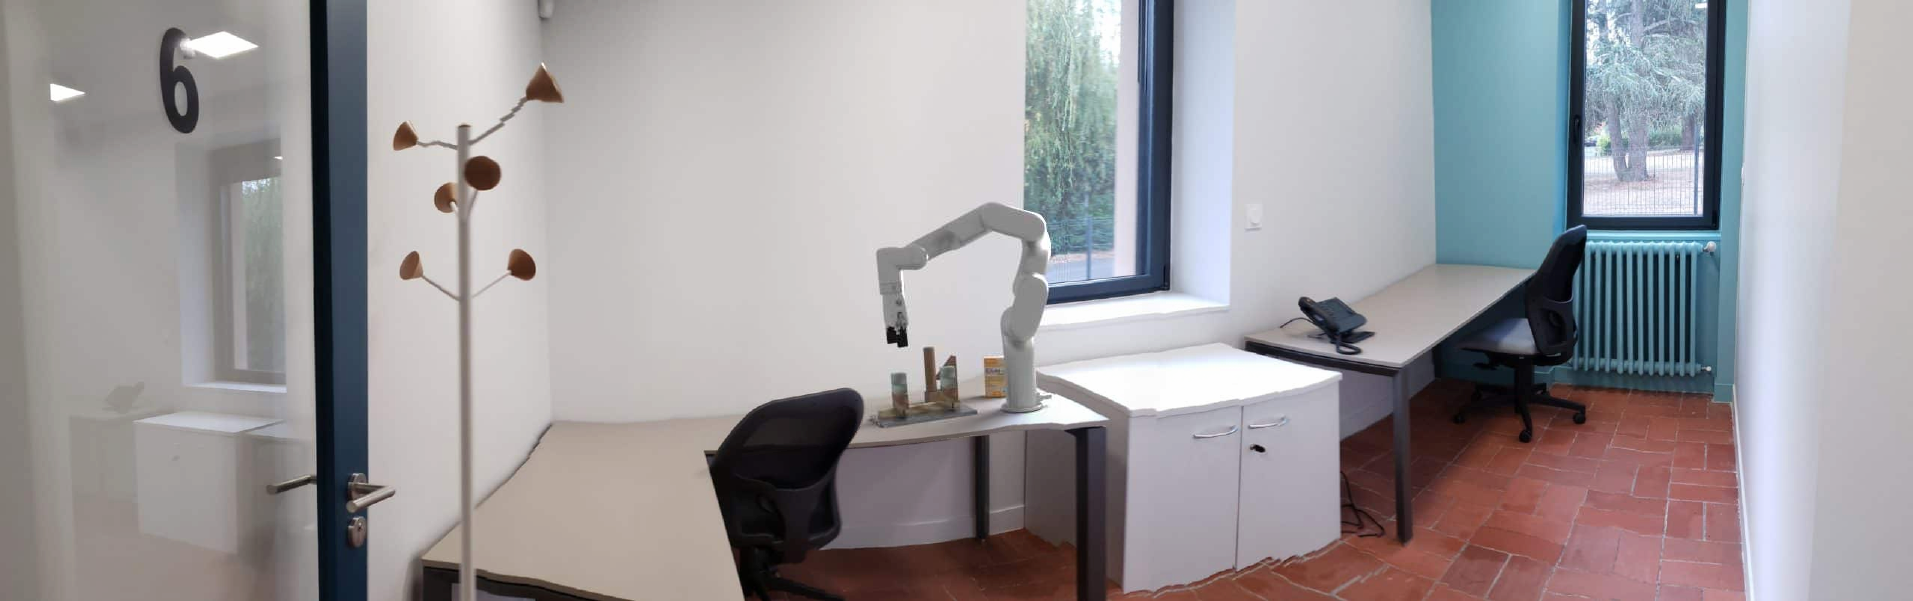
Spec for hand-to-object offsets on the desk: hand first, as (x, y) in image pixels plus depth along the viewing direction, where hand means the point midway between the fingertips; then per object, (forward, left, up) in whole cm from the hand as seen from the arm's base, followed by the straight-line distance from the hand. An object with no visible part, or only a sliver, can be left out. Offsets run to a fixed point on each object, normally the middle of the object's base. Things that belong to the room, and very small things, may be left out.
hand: (897, 345), depth 314 cm
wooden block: (-19, -18, -23) cm, 35 cm away
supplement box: (-37, -13, -23) cm, 46 cm away
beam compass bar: (-6, 0, -22) cm, 23 cm away
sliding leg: (0, 0, -21) cm, 21 cm away
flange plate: (-6, 0, -23) cm, 24 cm away
